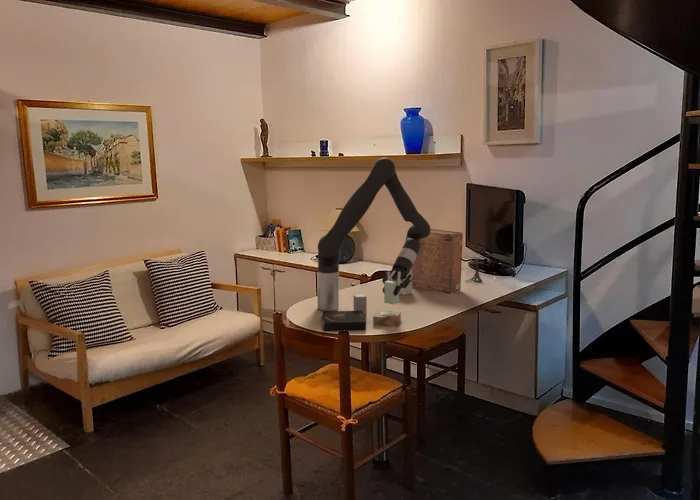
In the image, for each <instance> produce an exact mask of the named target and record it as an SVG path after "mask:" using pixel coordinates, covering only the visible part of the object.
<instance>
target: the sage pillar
mask: <svg viewBox="0 0 700 500" xmlns="http://www.w3.org/2000/svg"><path fill="white" fill-rule="evenodd" d="M397 283H398V281H394V280H388V281H385V285H384V286H383V288H384V290H385V293H383V294H384V295H383V296H384V297H383V298H384V299H383V301H384V302H383V303H384V304H388V305H396V304H398V303H400V294H399V293H398V295H397V296H394V294H393V292H394V290H395V288H396V286H397Z"/></svg>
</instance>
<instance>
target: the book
mask: <svg viewBox="0 0 700 500" xmlns="http://www.w3.org/2000/svg"><path fill="white" fill-rule="evenodd" d="M430 229H431V232H430V235H429V236H428V237H425V238H422V239H420V240H419V243H420V245H421V246H420V250H419V252H418V254H417V256H416V259H415V262H414V264H413V266H412V277H413V280H412V288H418V289H419V288H420V289H424V290H429V291H434V292H435V291H436V292H440V293H445V294H453V293H456V292H459V291H461V286H462V285H461V282H462V262H463V261H462V257H463V237H464V236H463V235H464V233H463V232H460V231H459V232H458V231H451V230H444V229H443V230H442V229H434V228H430Z"/></svg>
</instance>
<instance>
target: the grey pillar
mask: <svg viewBox="0 0 700 500" xmlns="http://www.w3.org/2000/svg"><path fill="white" fill-rule="evenodd" d="M367 302H368V301H367V296H366V295H365V294H364V293H361V294H360V293H359V294H353V311H362V313H363V316H364V318H367Z"/></svg>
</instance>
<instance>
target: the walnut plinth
mask: <svg viewBox="0 0 700 500" xmlns="http://www.w3.org/2000/svg"><path fill="white" fill-rule="evenodd" d="M401 313H402V311H395V310H394V311H393V310H383V309H380V310H379V309H377V310H376V312H375V313H374V315H373V317H372V325H373V326H382V327H394V328H395V327H396V328H398V327H399V324H400V323H401V320H402V316H401V315H402V314H401Z"/></svg>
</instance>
